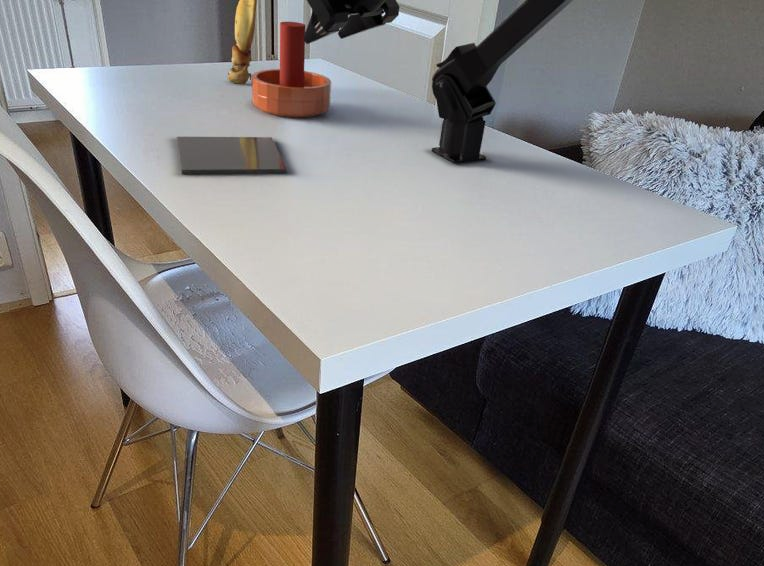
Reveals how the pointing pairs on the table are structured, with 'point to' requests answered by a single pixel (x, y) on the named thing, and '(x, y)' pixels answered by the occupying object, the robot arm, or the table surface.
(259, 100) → the pot
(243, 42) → the tan tall curved piece
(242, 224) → the table surface
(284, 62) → the red tall cylinder
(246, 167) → the coaster
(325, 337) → the table surface
